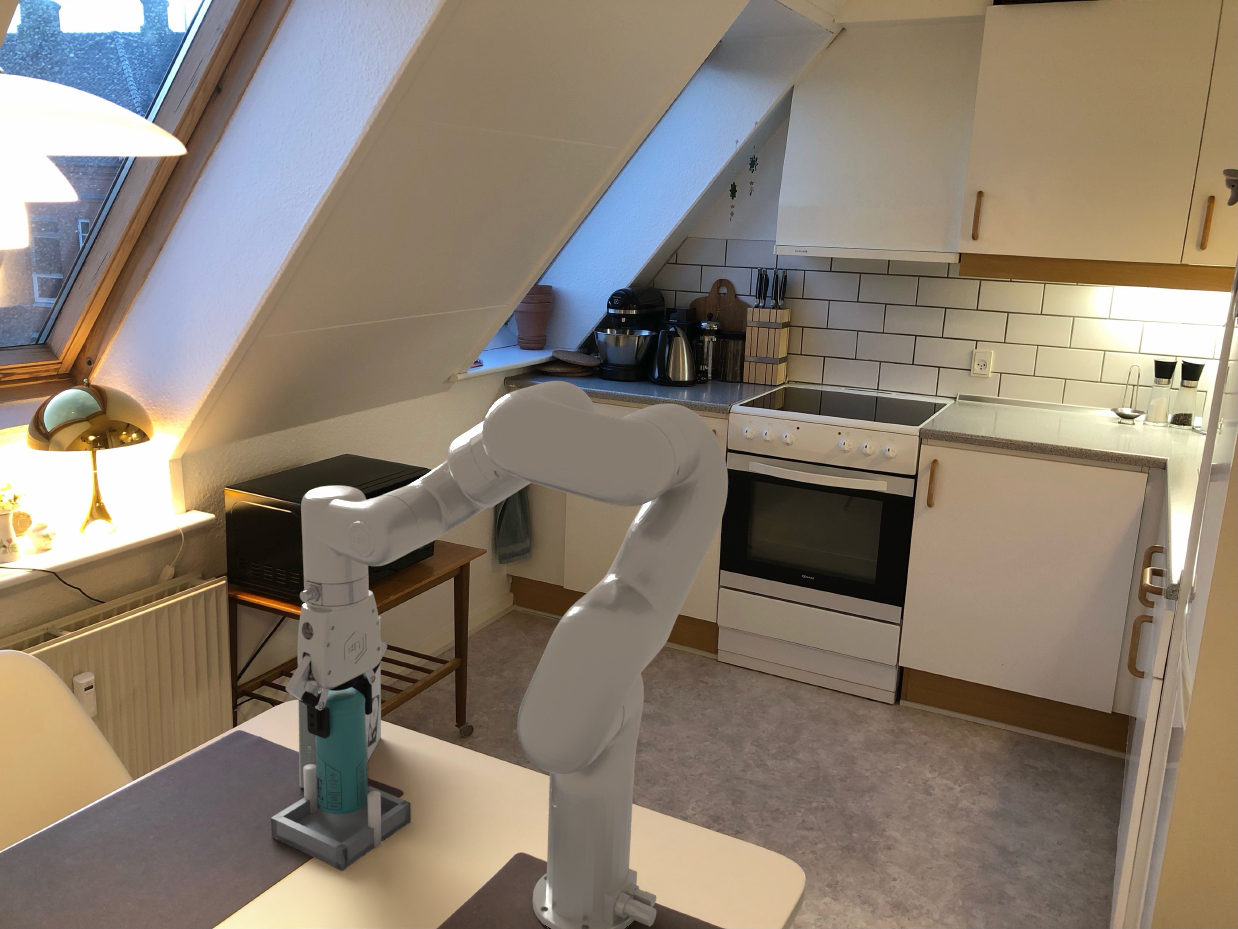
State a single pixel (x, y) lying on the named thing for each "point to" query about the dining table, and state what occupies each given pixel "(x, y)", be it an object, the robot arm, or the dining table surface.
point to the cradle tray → (339, 824)
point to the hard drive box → (308, 739)
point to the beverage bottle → (343, 753)
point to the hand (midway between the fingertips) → (340, 721)
